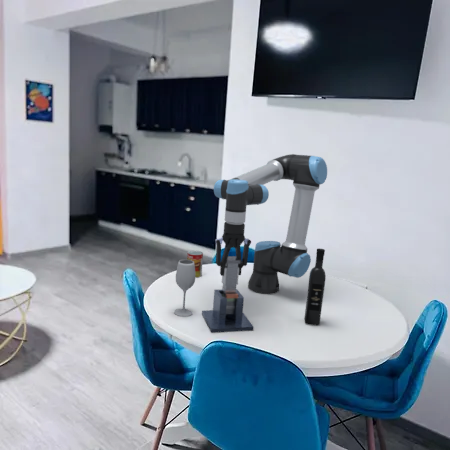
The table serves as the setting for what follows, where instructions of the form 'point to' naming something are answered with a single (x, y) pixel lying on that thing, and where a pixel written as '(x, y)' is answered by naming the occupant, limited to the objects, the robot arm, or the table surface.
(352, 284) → the table surface
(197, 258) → the canned food
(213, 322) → the stand
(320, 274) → the wine bottle
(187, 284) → the wineglass
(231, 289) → the column
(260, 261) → the robot arm
